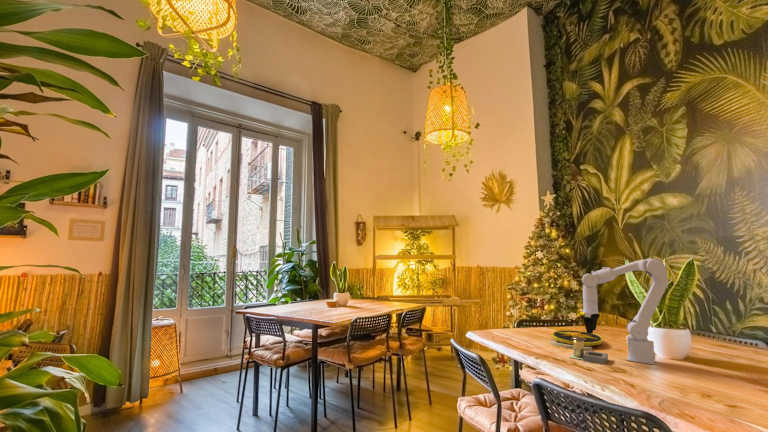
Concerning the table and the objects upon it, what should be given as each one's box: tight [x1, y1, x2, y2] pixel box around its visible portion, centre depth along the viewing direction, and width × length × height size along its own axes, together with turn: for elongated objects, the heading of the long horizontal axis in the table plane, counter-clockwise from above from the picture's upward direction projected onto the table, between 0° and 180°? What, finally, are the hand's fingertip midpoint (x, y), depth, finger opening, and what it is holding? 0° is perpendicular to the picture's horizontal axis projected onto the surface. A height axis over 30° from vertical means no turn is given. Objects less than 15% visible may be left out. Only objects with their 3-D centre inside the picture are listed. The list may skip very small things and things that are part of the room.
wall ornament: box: [549, 329, 604, 352], centre depth 194 cm, size 23×5×30 cm
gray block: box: [582, 350, 609, 365], centre depth 164 cm, size 8×9×2 cm
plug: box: [573, 337, 585, 358], centre depth 168 cm, size 4×4×8 cm
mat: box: [568, 353, 583, 361], centre depth 168 cm, size 5×7×1 cm
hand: (591, 331), depth 173 cm, fingers open, 7 cm apart
